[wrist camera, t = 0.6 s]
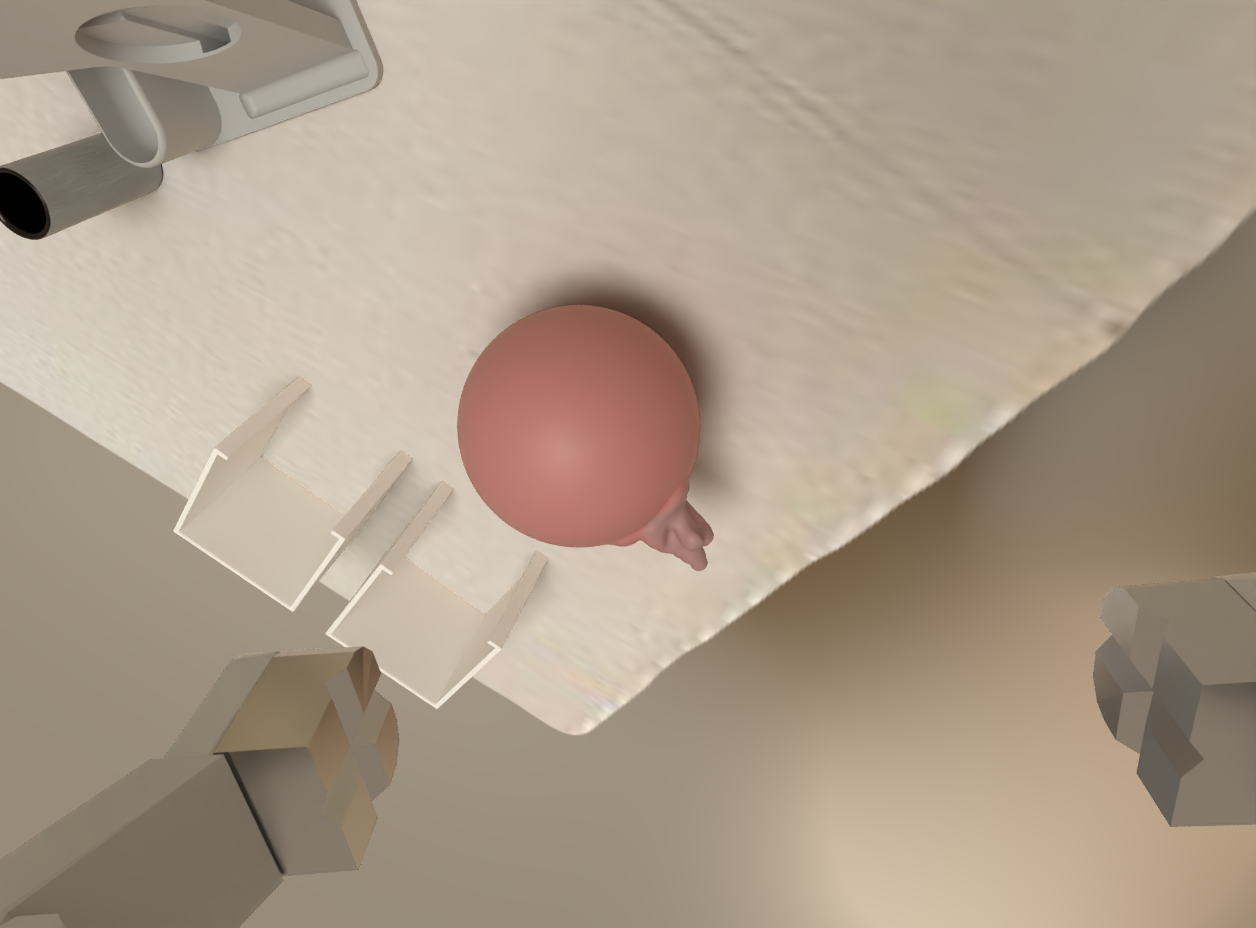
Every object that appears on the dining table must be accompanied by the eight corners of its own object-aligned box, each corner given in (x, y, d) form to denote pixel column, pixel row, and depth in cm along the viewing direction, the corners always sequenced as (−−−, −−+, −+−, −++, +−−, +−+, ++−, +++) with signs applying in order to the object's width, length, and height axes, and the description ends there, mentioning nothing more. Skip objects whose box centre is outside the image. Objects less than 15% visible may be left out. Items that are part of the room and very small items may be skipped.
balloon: (647, 532, 68) (593, 676, 56) (468, 349, 63) (365, 464, 50) (804, 441, 60) (781, 586, 48) (614, 221, 54) (534, 321, 42)
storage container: (257, 454, 75) (173, 531, 66) (301, 374, 68) (214, 447, 60) (487, 617, 79) (437, 709, 70) (548, 555, 73) (501, 648, 64)
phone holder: (188, 154, 60) (-35, 242, 45) (102, -3, 55) (-178, 40, 41) (390, 81, 53) (204, 157, 39) (312, -104, 48) (67, -95, 34)
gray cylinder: (157, 134, 59) (38, 176, 51) (168, 198, 62) (57, 247, 54) (99, 121, 60) (-27, 160, 52) (113, 185, 63) (-5, 231, 54)
